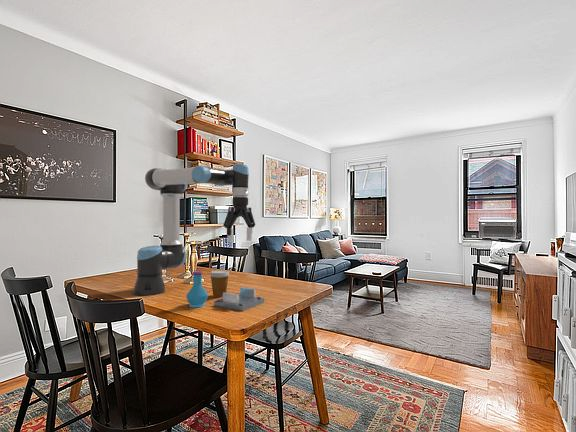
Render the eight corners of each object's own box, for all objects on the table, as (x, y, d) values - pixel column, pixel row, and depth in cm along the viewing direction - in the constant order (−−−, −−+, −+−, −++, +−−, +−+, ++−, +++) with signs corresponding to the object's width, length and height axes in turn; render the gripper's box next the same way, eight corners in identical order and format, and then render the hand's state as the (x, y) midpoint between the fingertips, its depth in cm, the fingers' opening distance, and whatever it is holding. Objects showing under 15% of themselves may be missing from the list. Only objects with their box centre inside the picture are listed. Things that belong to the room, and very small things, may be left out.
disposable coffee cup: (224, 298, 155) (225, 273, 155) (206, 297, 157) (206, 272, 157) (232, 293, 164) (232, 270, 164) (214, 292, 166) (214, 269, 166)
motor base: (213, 305, 143) (213, 292, 143) (236, 297, 157) (236, 285, 157) (242, 311, 135) (242, 296, 135) (264, 302, 149) (264, 289, 149)
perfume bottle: (188, 302, 148) (189, 269, 148) (209, 302, 148) (209, 269, 148) (184, 308, 139) (184, 273, 139) (206, 307, 139) (206, 273, 139)
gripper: (227, 195, 141) (227, 243, 142) (262, 198, 162) (262, 240, 162) (215, 195, 146) (215, 242, 146) (250, 198, 167) (250, 239, 167)
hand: (239, 241), depth 154 cm, fingers open, 13 cm apart
